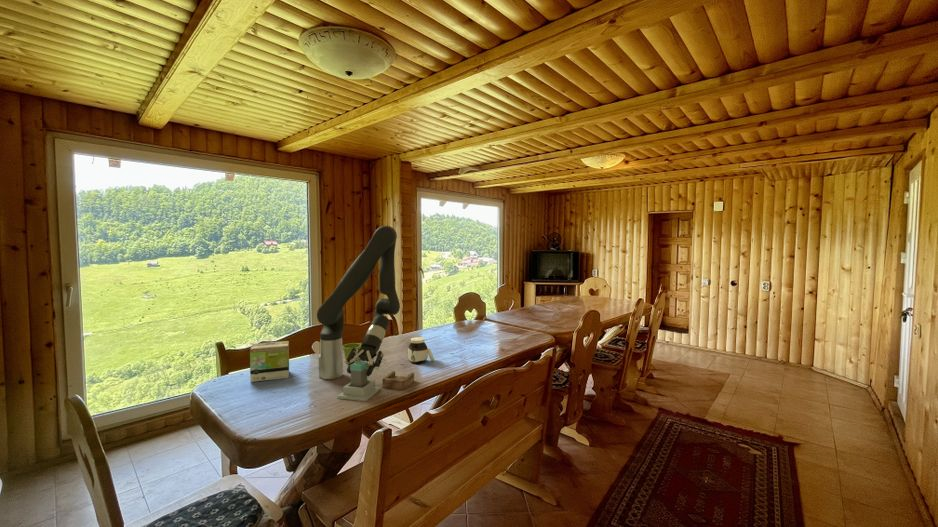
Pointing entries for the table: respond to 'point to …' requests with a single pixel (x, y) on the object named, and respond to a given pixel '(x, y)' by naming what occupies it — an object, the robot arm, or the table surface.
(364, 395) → the port block
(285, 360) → the tea box
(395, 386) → the cradle
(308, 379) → the table surface
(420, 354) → the spread jar
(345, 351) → the plant pot
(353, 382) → the plug
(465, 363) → the table surface
